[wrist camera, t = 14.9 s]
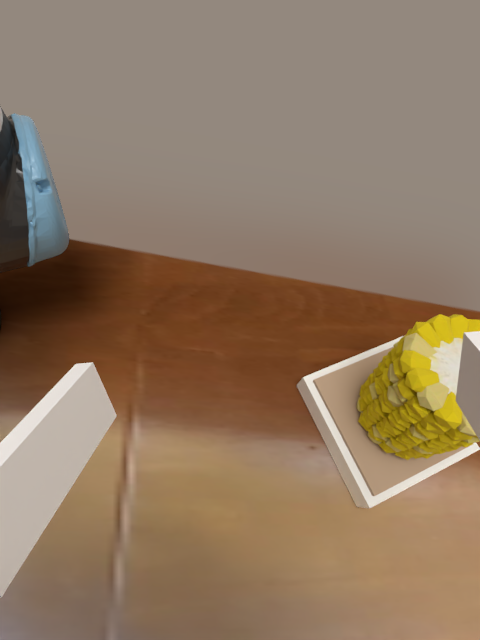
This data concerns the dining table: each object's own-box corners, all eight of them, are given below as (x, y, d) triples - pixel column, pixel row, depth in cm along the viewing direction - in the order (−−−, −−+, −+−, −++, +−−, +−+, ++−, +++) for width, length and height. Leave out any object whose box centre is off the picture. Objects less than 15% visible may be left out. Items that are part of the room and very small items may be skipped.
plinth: (296, 385, 42) (304, 375, 38) (391, 346, 45) (406, 333, 41) (356, 506, 36) (372, 508, 33) (459, 452, 40) (484, 448, 36)
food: (419, 475, 36) (331, 422, 38) (464, 377, 38) (378, 332, 40) (519, 511, 21) (366, 421, 24) (581, 348, 24) (437, 282, 26)
